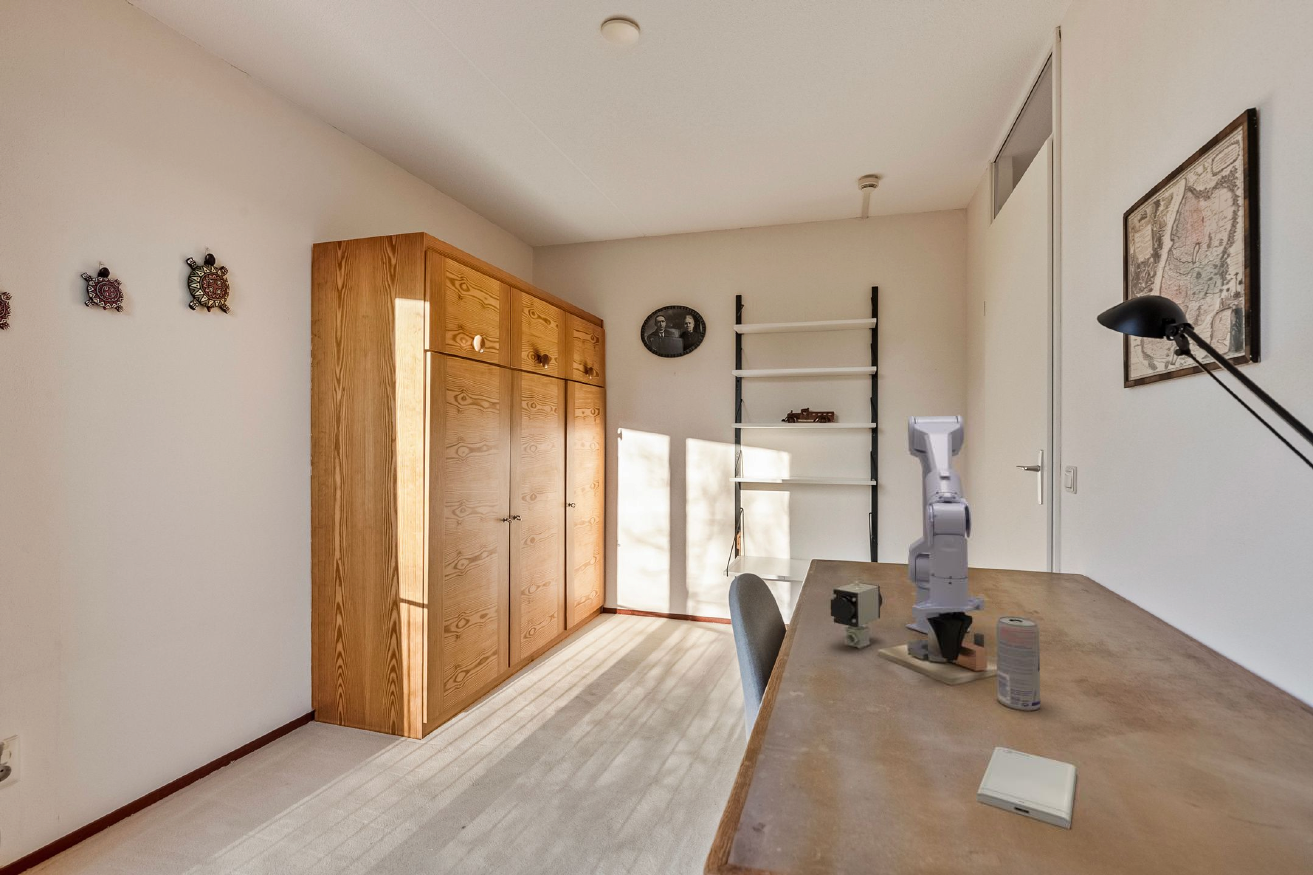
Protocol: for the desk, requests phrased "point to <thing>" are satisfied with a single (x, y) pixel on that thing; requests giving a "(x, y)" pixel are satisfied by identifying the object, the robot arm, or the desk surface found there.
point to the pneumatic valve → (856, 610)
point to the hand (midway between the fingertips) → (949, 658)
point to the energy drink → (1018, 663)
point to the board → (936, 669)
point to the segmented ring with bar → (967, 657)
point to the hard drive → (1029, 786)
